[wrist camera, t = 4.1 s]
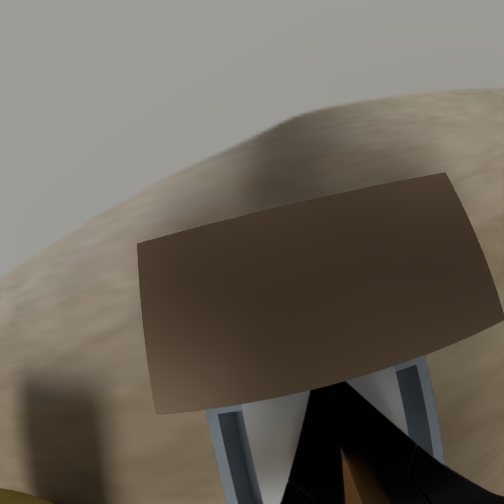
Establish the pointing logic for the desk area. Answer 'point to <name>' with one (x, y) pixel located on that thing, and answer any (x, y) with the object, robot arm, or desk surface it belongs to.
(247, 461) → the shallow blue-grey tray
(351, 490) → the ball
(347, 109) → the desk surface
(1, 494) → the flower pot
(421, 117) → the desk surface
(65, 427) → the desk surface
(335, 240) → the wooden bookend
